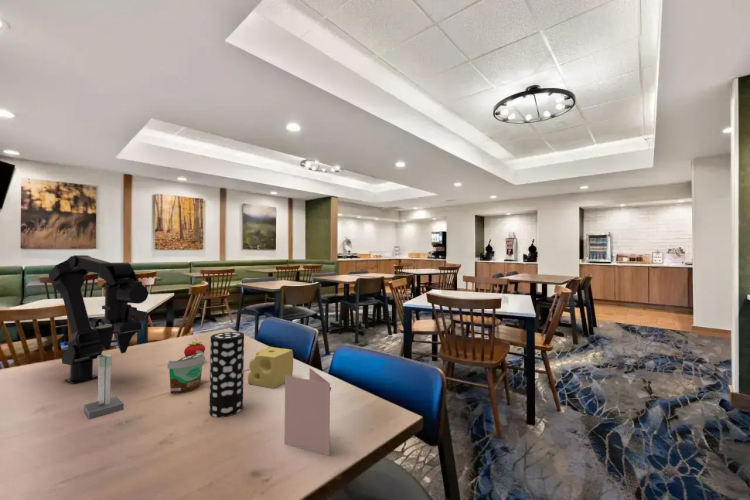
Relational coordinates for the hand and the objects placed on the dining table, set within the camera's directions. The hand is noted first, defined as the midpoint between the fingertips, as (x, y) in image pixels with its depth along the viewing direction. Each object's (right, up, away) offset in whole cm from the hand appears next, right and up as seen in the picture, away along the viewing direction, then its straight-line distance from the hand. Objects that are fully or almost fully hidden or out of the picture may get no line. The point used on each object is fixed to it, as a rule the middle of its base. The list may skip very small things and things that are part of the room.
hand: (115, 351), depth 104 cm
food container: (+25, -11, -1) cm, 28 cm away
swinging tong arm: (+10, -9, -16) cm, 21 cm away
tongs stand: (+10, -11, -16) cm, 22 cm away
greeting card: (+68, -11, -32) cm, 76 cm away
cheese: (+48, -12, +5) cm, 50 cm away
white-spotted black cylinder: (+43, -11, -16) cm, 47 cm away
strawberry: (+14, -12, +21) cm, 28 cm away
